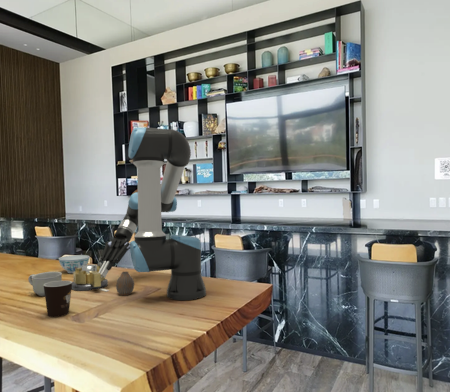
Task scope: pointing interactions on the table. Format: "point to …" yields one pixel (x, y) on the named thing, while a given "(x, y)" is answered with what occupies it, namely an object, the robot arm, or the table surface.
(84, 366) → the table surface
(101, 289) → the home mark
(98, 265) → the pocket watch
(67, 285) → the coffee mug
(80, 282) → the tan piece
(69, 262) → the chinaware
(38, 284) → the teacup
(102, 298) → the table surface
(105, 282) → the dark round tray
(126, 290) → the vase
